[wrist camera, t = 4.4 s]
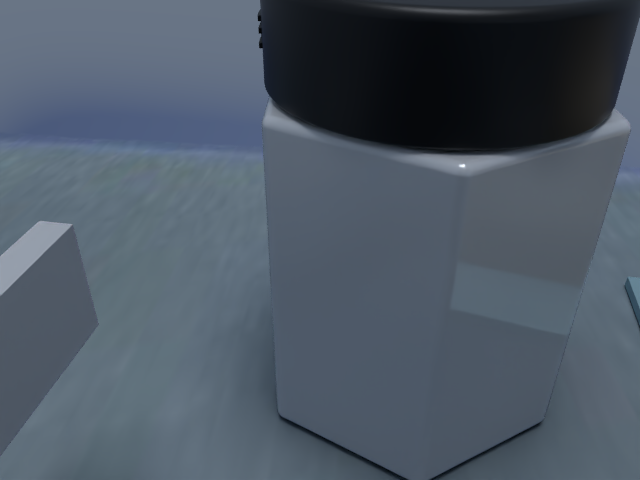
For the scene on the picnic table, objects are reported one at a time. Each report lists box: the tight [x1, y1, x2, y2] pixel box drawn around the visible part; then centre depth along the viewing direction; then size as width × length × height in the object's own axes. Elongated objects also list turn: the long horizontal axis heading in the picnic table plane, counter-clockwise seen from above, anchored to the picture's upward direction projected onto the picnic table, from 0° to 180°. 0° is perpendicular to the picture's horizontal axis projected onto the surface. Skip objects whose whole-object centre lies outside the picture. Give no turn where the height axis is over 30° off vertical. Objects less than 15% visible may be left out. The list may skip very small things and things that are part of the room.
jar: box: [258, 0, 640, 480], centre depth 17 cm, size 9×8×12 cm
